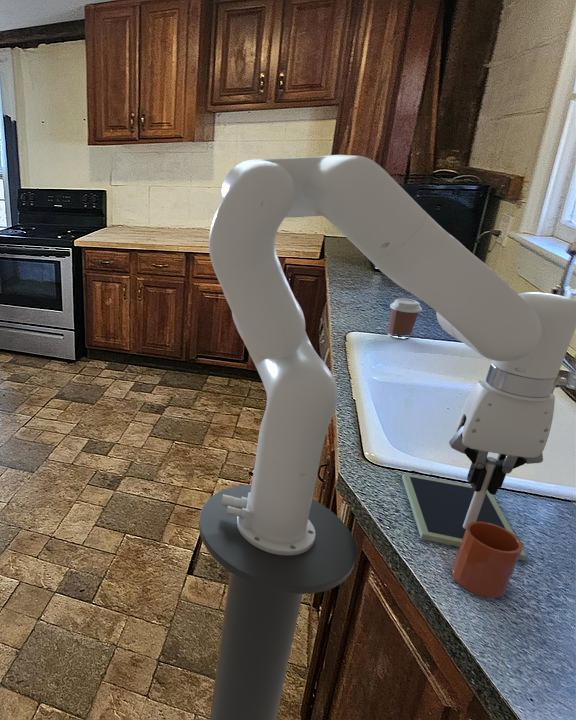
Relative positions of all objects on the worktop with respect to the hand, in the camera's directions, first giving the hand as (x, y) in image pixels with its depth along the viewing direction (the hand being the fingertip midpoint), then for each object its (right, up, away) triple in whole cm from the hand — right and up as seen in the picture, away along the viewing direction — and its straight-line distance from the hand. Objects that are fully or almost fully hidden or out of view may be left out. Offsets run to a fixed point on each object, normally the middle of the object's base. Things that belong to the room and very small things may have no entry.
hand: (481, 487), depth 82 cm
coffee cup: (+41, +28, +93) cm, 105 cm away
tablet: (+2, -7, +8) cm, 11 cm away
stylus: (0, -7, +3) cm, 8 cm away
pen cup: (-5, -12, -5) cm, 14 cm away
